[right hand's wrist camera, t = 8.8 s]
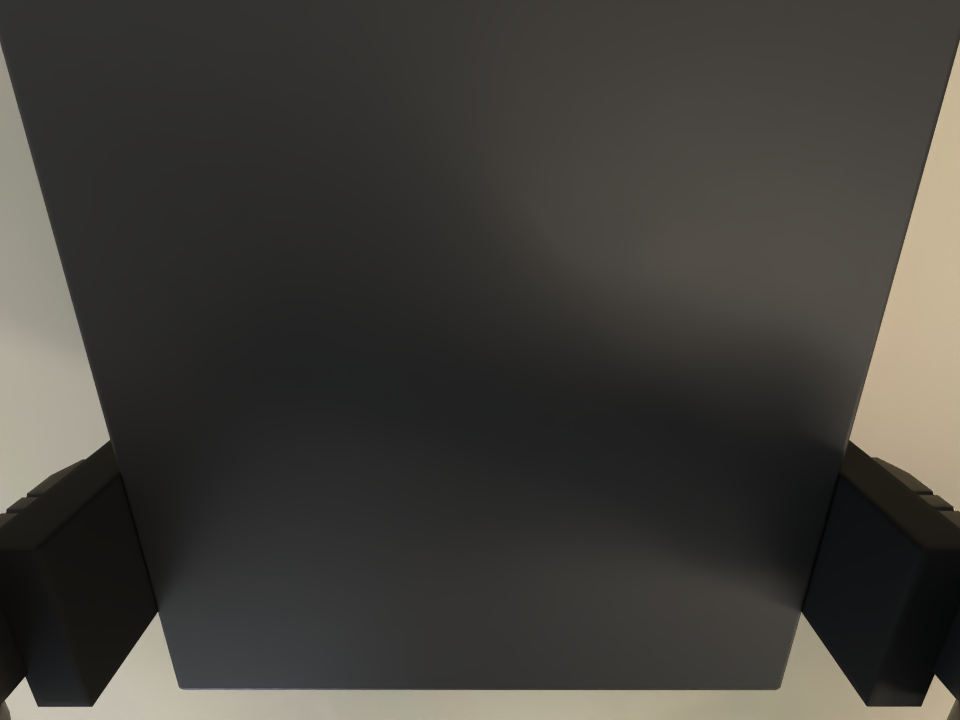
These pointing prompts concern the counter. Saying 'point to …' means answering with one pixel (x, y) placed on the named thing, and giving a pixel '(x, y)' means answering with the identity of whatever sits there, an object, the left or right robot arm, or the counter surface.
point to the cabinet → (479, 317)
